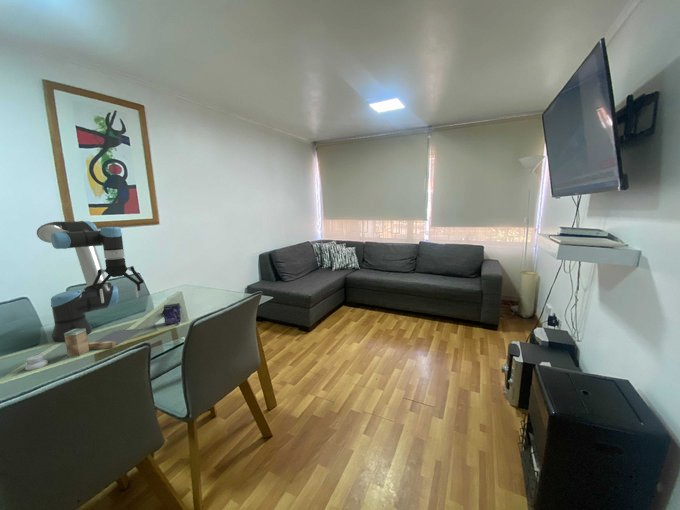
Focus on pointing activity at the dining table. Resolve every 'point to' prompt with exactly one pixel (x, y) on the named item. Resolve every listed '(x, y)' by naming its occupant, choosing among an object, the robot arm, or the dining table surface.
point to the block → (76, 342)
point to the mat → (119, 336)
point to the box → (172, 313)
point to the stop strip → (101, 344)
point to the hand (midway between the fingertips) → (120, 299)
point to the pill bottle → (35, 362)
